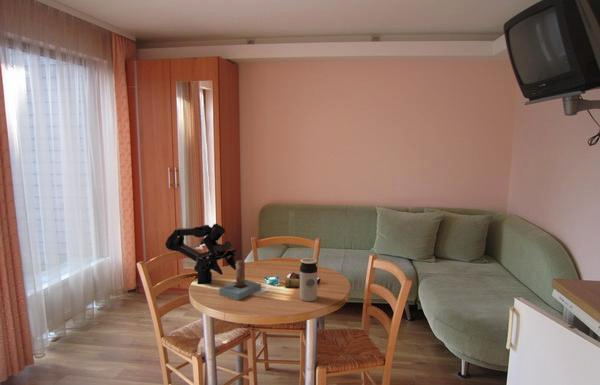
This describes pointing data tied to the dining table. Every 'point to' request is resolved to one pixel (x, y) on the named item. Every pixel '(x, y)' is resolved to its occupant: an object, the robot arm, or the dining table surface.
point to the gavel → (292, 281)
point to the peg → (240, 274)
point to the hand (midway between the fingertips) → (228, 271)
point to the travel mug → (308, 279)
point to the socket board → (239, 290)
